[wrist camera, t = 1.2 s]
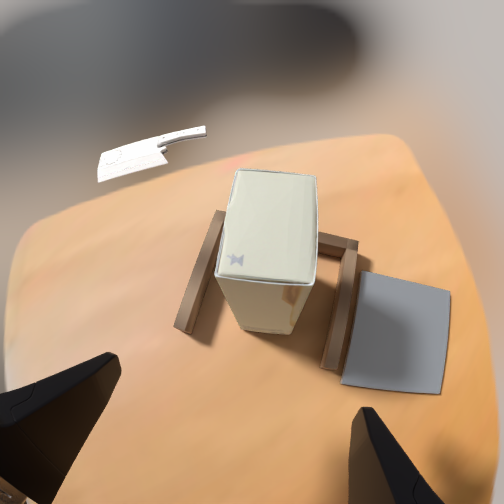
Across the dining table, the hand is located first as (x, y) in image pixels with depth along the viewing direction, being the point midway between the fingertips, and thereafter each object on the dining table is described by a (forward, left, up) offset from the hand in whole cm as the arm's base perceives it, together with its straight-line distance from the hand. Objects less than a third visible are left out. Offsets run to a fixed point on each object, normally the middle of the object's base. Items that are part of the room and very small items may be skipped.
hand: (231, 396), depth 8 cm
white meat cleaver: (+21, +19, -14) cm, 32 cm away
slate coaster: (+6, -12, -13) cm, 19 cm away
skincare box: (+7, 0, -13) cm, 15 cm away
